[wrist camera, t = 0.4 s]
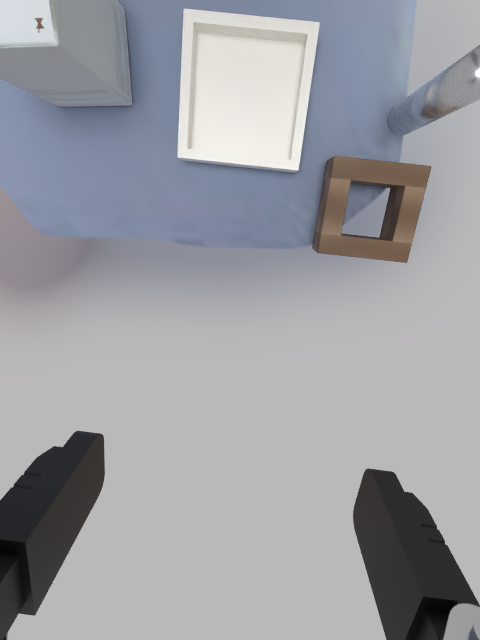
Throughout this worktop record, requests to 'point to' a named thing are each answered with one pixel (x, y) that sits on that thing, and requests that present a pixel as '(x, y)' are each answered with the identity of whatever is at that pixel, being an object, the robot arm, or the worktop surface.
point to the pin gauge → (439, 96)
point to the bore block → (398, 215)
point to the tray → (244, 89)
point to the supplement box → (66, 51)
